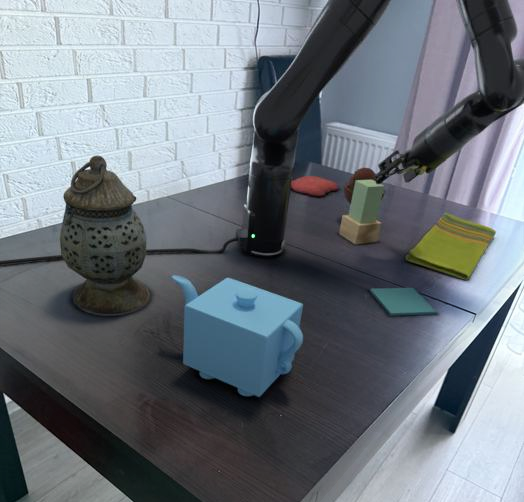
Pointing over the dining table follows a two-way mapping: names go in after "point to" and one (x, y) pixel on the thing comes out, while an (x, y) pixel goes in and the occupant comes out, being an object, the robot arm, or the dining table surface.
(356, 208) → the green block
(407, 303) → the mat
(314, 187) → the patty
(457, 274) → the dish towel
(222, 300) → the teapot
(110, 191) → the lantern
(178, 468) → the dining table surface
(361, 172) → the ice cream bowl
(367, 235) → the birch block
